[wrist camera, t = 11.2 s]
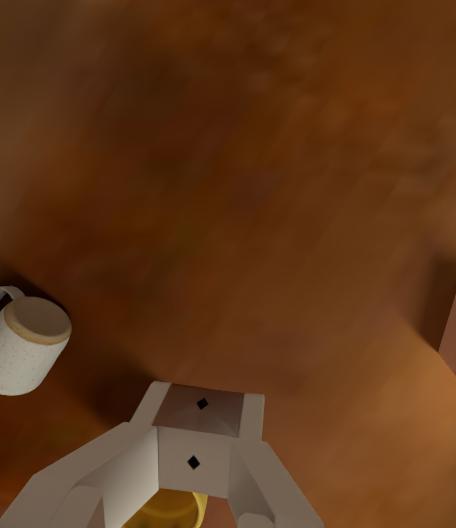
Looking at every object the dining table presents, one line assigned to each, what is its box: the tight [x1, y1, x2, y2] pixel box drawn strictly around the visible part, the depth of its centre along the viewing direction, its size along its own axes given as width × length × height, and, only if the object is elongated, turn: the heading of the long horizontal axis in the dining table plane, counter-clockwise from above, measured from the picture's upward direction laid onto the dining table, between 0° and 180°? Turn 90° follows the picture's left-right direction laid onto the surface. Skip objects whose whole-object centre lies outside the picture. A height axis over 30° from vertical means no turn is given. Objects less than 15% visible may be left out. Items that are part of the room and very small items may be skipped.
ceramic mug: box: [0, 286, 72, 395], centre depth 39 cm, size 11×8×8 cm
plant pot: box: [120, 488, 208, 528], centre depth 40 cm, size 10×10×10 cm
